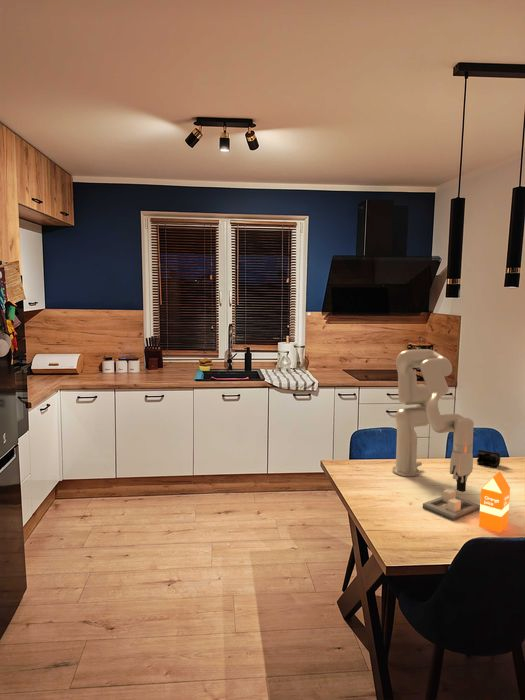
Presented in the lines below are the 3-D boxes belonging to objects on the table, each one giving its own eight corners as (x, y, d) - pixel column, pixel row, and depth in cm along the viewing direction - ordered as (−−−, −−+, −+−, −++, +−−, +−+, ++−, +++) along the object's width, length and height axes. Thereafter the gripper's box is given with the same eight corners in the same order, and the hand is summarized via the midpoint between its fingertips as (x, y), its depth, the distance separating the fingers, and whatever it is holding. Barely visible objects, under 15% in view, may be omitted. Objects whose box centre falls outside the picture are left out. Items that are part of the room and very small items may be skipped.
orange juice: (508, 524, 191) (511, 473, 189) (500, 532, 184) (504, 479, 182) (486, 518, 196) (489, 468, 194) (478, 526, 189) (481, 474, 187)
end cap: (500, 465, 258) (501, 452, 258) (497, 468, 253) (497, 455, 252) (479, 461, 264) (480, 448, 263) (475, 464, 259) (476, 451, 258)
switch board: (449, 498, 215) (449, 493, 215) (480, 509, 204) (480, 504, 204) (422, 508, 205) (422, 503, 205) (453, 520, 194) (453, 515, 193)
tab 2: (453, 508, 202) (454, 498, 201) (460, 511, 199) (461, 500, 199) (447, 511, 200) (448, 500, 199) (454, 513, 197) (454, 503, 197)
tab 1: (448, 498, 212) (449, 488, 211) (455, 501, 209) (455, 491, 209) (442, 501, 209) (443, 490, 209) (449, 503, 207) (449, 493, 206)
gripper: (465, 443, 218) (463, 484, 220) (443, 448, 210) (442, 491, 211) (481, 447, 212) (479, 489, 214) (460, 453, 204) (458, 497, 205)
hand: (461, 490), depth 213 cm, fingers closed
